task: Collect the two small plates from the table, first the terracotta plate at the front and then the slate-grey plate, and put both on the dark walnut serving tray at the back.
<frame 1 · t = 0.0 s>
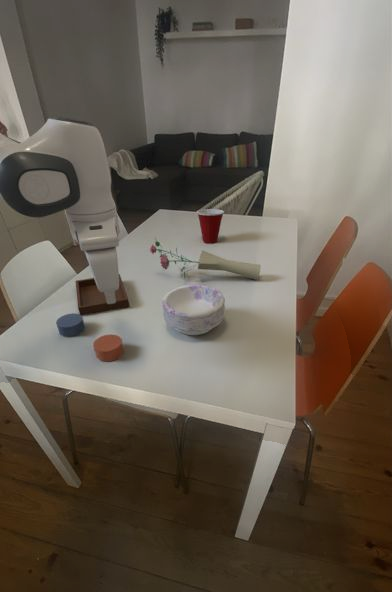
hand: (108, 291, 67), 14 cm above the table, tool pointing down, fingers open, 8 cm apart
terracotta plate: (110, 352, 74), on the table
paper bowls: (194, 326, 82), on the table
plastic cup: (210, 241, 131), on the table
flower vase: (204, 278, 104), on the table
slate plate: (72, 329, 81), on the table
tray: (102, 297, 95), on the table
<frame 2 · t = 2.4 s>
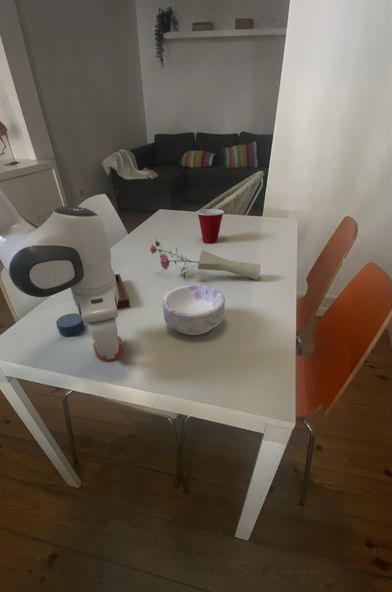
hand: (108, 346, 73), 2 cm above the table, tool pointing down, fingers closed on terracotta plate, 6 cm apart
terracotta plate: (110, 352, 74), on the table, touching gripper
everything else where it was.
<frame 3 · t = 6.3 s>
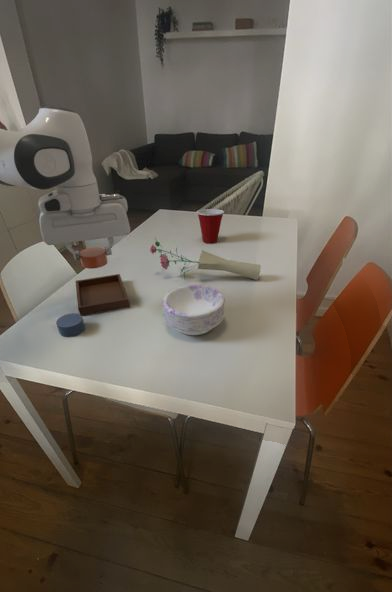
hand: (93, 256, 80), 15 cm above the table, tool pointing down, fingers closed on terracotta plate, 6 cm apart
terracotta plate: (95, 263, 81), point 14 cm above the table, touching gripper
everything else where it was.
when the fingers open (2 cm above the table, at t = 10.1 s): terracotta plate stays where it is, resting on tray.
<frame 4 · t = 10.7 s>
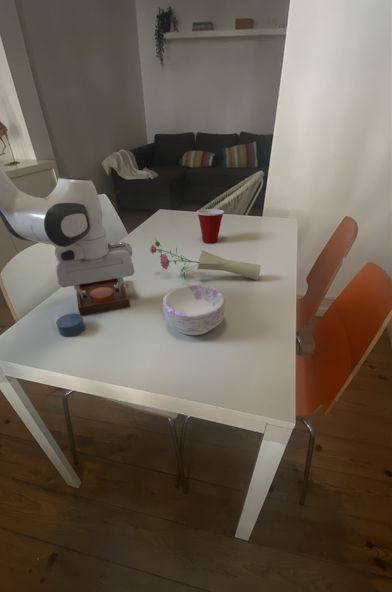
hand: (101, 294, 90), 3 cm above the table, tool pointing down, fingers open, 8 cm apart
terracotta plate: (103, 301, 91), point 1 cm above the table, touching tray
everything else where it was.
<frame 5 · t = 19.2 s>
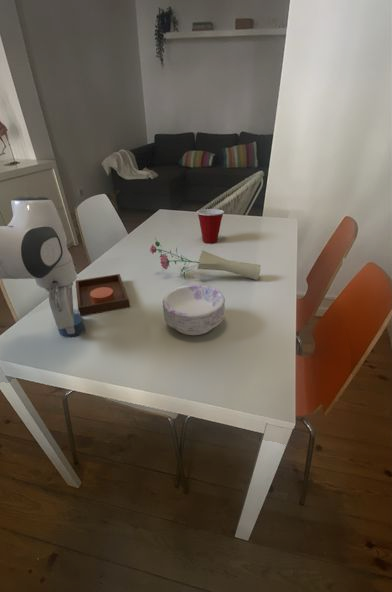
hand: (71, 324, 80), 2 cm above the table, tool pointing down, fingers closed on slate plate, 6 cm apart
slate plate: (72, 330, 81), on the table, touching gripper
everything else where it was.
when the fingers open (2 cm above the table, at t = 26.7 s): slate plate stays where it is, resting on tray.
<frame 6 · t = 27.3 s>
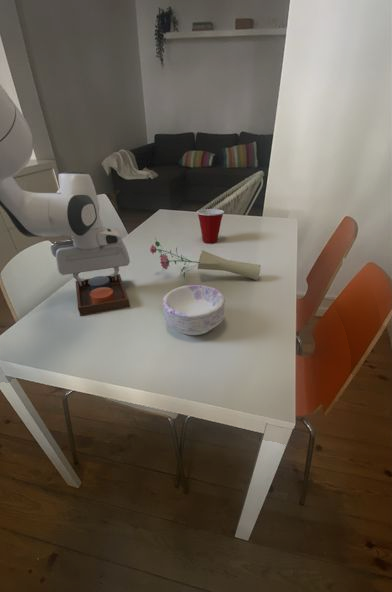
hand: (98, 282, 96), 3 cm above the table, tool pointing down, fingers open, 8 cm apart
slate plate: (100, 289, 97), point 1 cm above the table, touching tray
everything else where it was.
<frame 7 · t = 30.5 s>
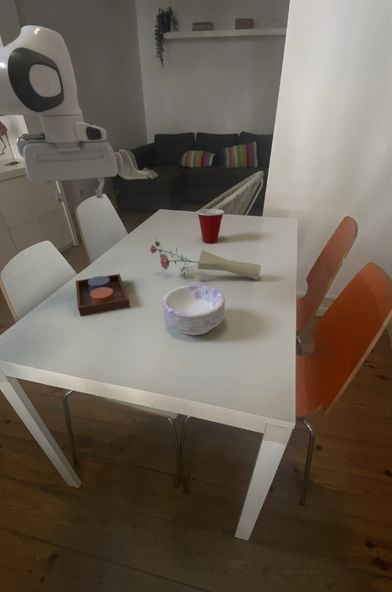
hand: (80, 199, 78), 27 cm above the table, tool pointing down, fingers open, 8 cm apart
nothing on the table moved.
at the end: terracotta plate inside the target area in the tray (4.0 cm from its centre), point 0.6 cm above the tray's base; slate plate inside the target area in the tray (4.0 cm from its centre), point 0.6 cm above the tray's base; slate plate tilted 0° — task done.
